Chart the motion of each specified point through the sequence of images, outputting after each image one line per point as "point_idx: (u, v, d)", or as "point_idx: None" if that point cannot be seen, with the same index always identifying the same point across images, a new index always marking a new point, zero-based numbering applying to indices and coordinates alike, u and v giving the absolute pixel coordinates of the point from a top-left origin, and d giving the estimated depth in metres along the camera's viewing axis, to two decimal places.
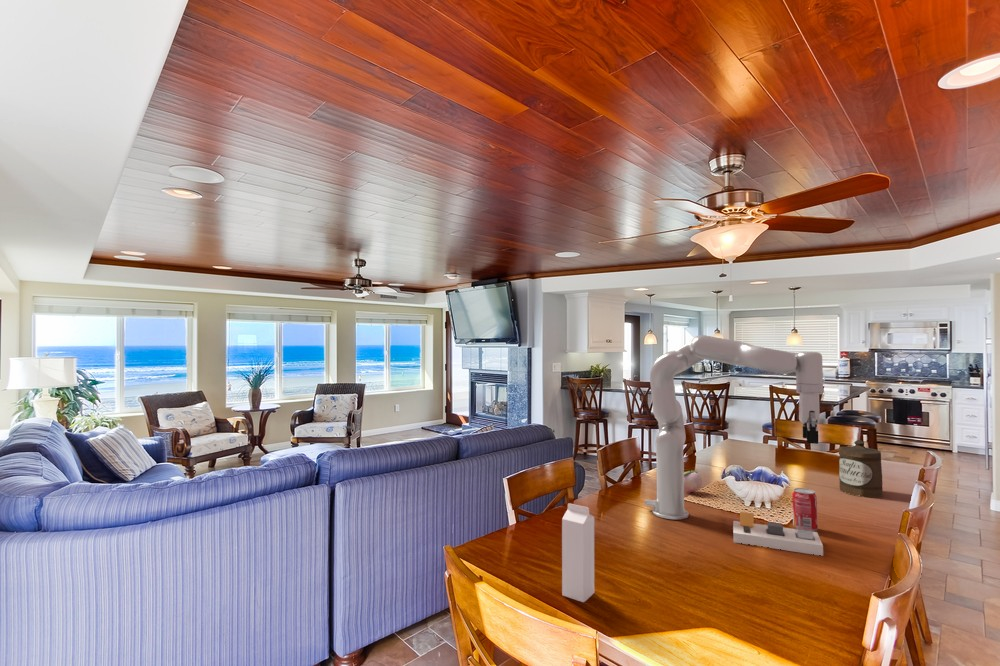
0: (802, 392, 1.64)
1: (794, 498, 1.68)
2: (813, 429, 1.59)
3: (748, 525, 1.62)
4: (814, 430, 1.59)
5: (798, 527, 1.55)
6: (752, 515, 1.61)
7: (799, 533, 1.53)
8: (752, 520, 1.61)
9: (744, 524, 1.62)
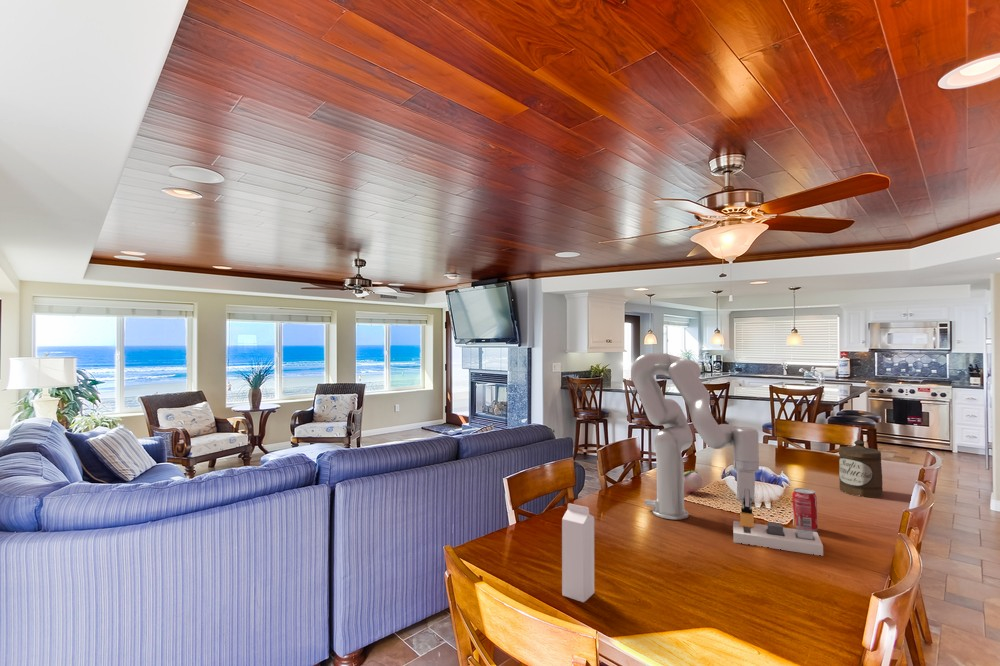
0: (738, 469, 1.64)
1: (794, 498, 1.68)
2: (747, 508, 1.63)
3: (748, 526, 1.61)
4: None
5: (798, 527, 1.55)
6: (752, 515, 1.61)
7: (799, 533, 1.53)
8: (752, 521, 1.61)
9: (744, 525, 1.62)
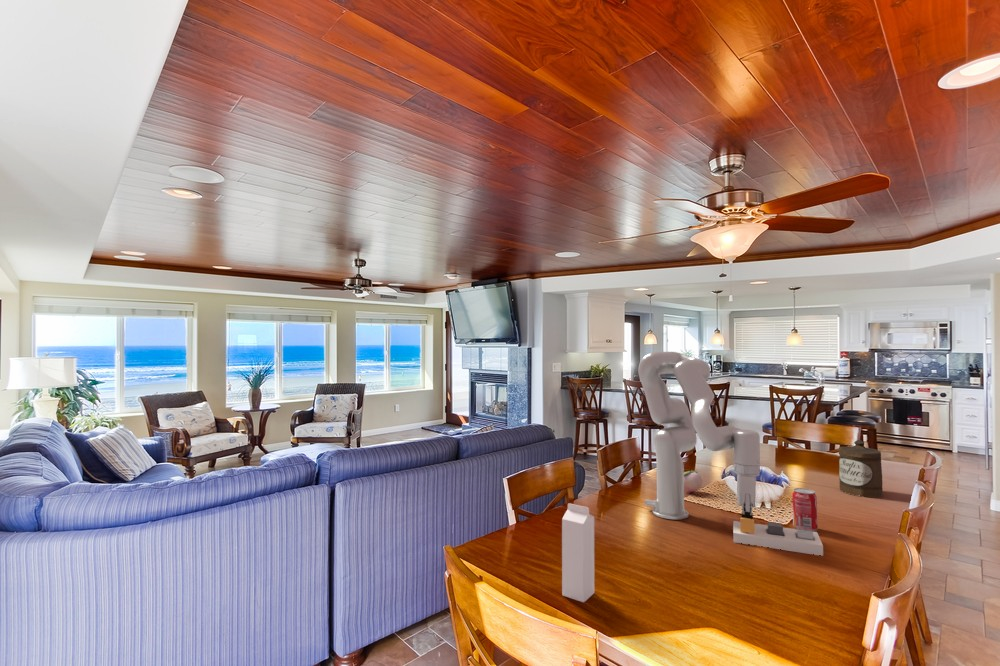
0: (739, 473, 1.58)
1: (794, 498, 1.68)
2: (747, 513, 1.58)
3: (749, 531, 1.56)
4: None
5: (798, 527, 1.55)
6: (753, 521, 1.56)
7: (799, 533, 1.53)
8: (753, 526, 1.56)
9: (744, 530, 1.57)
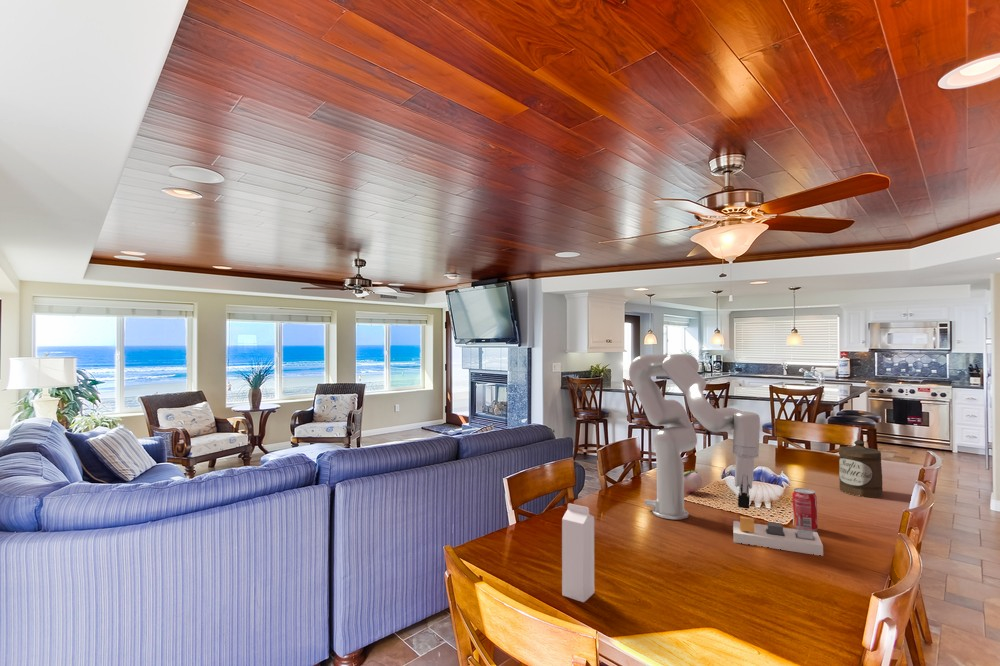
0: (737, 454, 1.58)
1: (794, 498, 1.68)
2: (744, 494, 1.58)
3: (748, 530, 1.57)
4: None
5: (798, 527, 1.55)
6: (753, 520, 1.57)
7: (799, 533, 1.53)
8: (753, 525, 1.57)
9: (744, 529, 1.58)
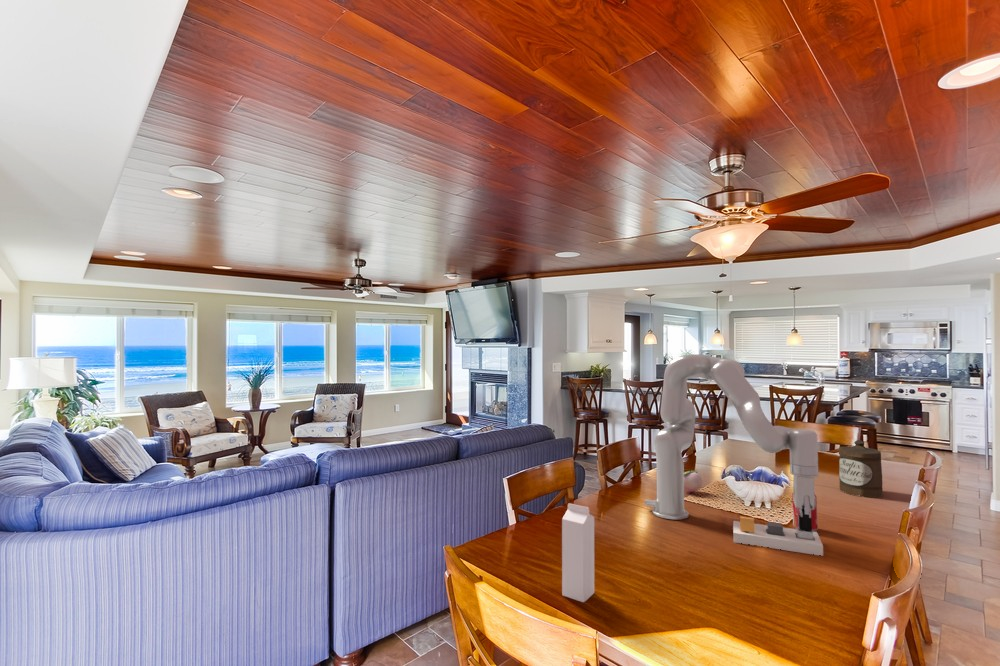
0: (796, 474, 1.53)
1: None
2: (806, 516, 1.52)
3: (748, 530, 1.57)
4: None
5: (798, 528, 1.55)
6: (753, 520, 1.57)
7: (799, 534, 1.53)
8: (753, 525, 1.57)
9: (744, 529, 1.58)
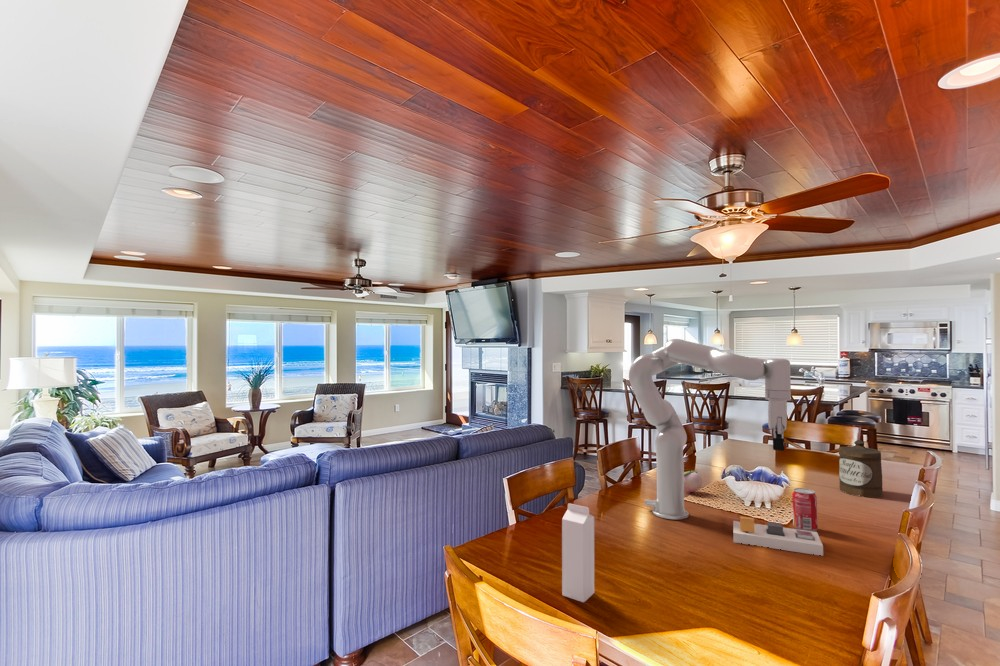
0: (770, 398, 1.66)
1: (794, 498, 1.68)
2: (779, 437, 1.65)
3: (748, 530, 1.57)
4: None
5: (798, 532, 1.55)
6: (753, 520, 1.57)
7: (799, 538, 1.53)
8: (753, 525, 1.57)
9: (744, 529, 1.58)
